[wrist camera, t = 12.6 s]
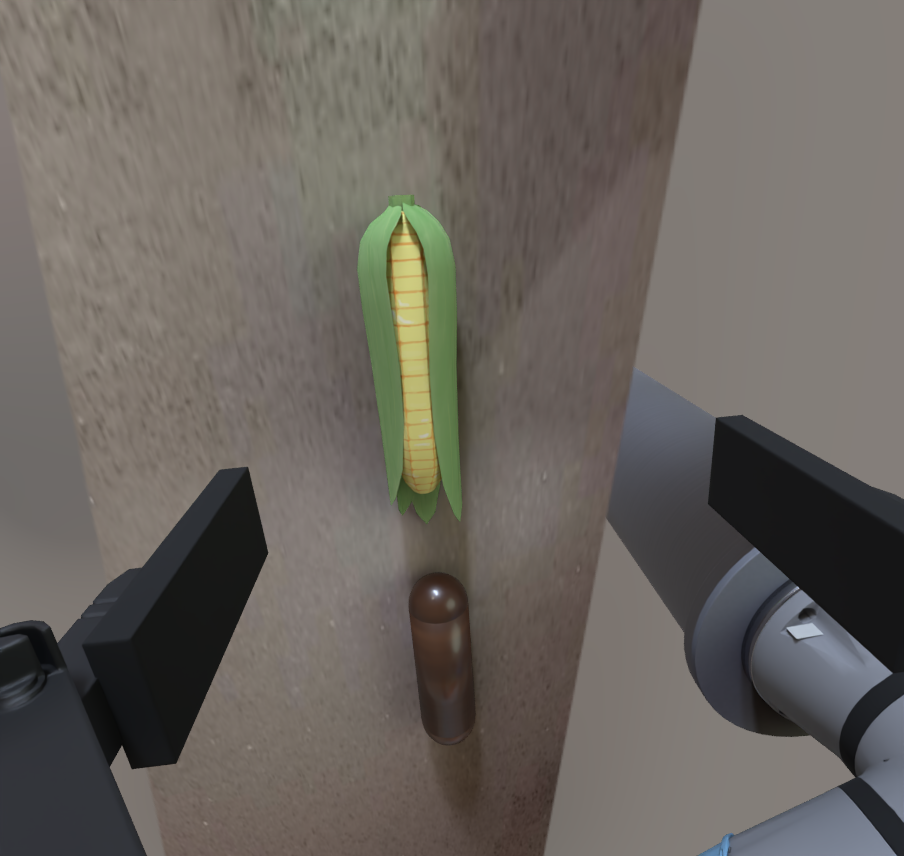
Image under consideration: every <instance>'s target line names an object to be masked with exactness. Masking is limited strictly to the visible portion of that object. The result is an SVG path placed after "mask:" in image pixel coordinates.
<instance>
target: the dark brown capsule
mask: <svg viewBox="0 0 904 856" xmlns="http://www.w3.org/2000/svg"><path fill="white" fill-rule="evenodd" d="M409 614H410V622H411V631H412V640H413V648H414V657H415V666H416V674H417V683H418V692H419V700H420V709H421V718H422V723H423V726H424V729H425V731H426V733H427V734H428V735H429V737H430V738H432V739H433V740H434V741H435V742H437V743H439V744H442V745H454V744H457V743H460V742H461V741H463V740H464V739H465V738H466V737H467V736H468V735H469V734H470V732H471V731H472V729H473V726H474V723H475V715H476V713H475V698H474V683H473V668H472V653H471V638H470V623H469V609H468V598H467V594H466V591H465V589H464V587H463V585H462V584H461V583H460V582H459V581H458V580H457V579H456V578H455V577H453V576H451V575H449V574H446V573H440V572H437V573H431V574H428V575H426V576H424V577H422V578H421V579H420V580H419V581H418V582H417V583H416V584H415V585H414V587H413V589H412V591H411V593H410V597H409Z"/></svg>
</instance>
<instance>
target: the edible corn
mask: <svg viewBox="0 0 904 856" xmlns="http://www.w3.org/2000/svg"><path fill="white" fill-rule="evenodd" d="M388 198H389V206H388V208H387V209H386V210H385V212H384V213H383V214H381V215H380V216H379V217H378V218H377V219H375V220H374V221H373V222H372V223H370V225H369V227H368V228H367V230H366V232H365V234H364V236H363V237H362V239H361V241H360V248H359V257H358V267H357V271H358V279H359V287H360V295H361V303H362V311H363V316H364V322H365V328H366V334H367V340H368V346H369V352H370V358H371V364H372V371H373V378H374V384H375V391H376V398H377V405H378V412H379V419H380V426H381V433H382V441H383V448H384V456H385V464H386V472H387V479H388V487H389V495H390V502H391V505H392V504H393V502H394V501H395V499H396V495H397V500H398V507H399V511H400V512H401V514H402V516H403V514H404V513H405V511H406V510H407V508H408V507H409V505H410V504H411V502H413V505H414V507H415V510H416V513H417V514H418V515H419V516H420V517H421V519H422V520H423V521H424V522H425V523H426V524H428V522H429V521H430V519H431V517H432V516H433V514H434V513H435V510H436V505H437V499H438V493H439V488H440V482H441V479H442V481H443V487H444V489H445V492H446V494H447V497H448V499H449V502H450V505H451V507H452V510H453V512H454V515H455V516H456V518H457V519H458V520H459V521H460V518H461V510H462V494H461V475H460V456H459V437H458V406H457V373H456V353H457V304H456V272H455V262H454V258H453V253H452V248H451V244H450V239H449V237H448V236H447V234H446V232H445V231H444V229H443V227H442V226H441V224H440V223H439V221H438V220H436V219H435V218H434V217H433V216H432V215H431V214H430V213H429V212H428V211H427V210H425V209H423V208H421V207H420V206H419V205H415V204H414V195H397V196H388Z"/></svg>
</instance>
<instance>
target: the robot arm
mask: <svg viewBox="0 0 904 856" xmlns="http://www.w3.org/2000/svg"><path fill="white" fill-rule="evenodd" d="M708 504H709V505H710V506H711V507H712V508H713V509H714V510H715V511H716V512H717V513H718V514H720V515H721V516H722V517H723V518H724V519H725V520H726V521H727V522H728V523H729V524H730V525H731V526H733V527H734V528H735V529H736V530H737V531H738V532H739V533H740V534H741V535H742V536H743V537H745V538H746V539H747V540H748V541H749V542H750V543H751V544H752V545H753V546H754V547H755V548H757V549H758V550H759V551H760V552H761V553H762V554H763V555H764V556H765V557H766V558H767V559H769V560H770V561H771V562H772V563H773V564H774V565H775V566H776V567H777V568H778V569H779V570H781V571H782V572H783V573H784V574H785V575H786V576H787V577H788V578H789V580H788V581H786V582H785V583H783V584H782V585H781V586H780V587H778V588H777V589H776V590H775V591H774V592H773V593H772V594H771V595H770V596H769V597H768V598H767V599H766V600H765V601H764V602H763V603H762V605H761V606H760V607H759V608H758V610H757V611H756V613H755V614H754V616H753V617H752V619H751V621H750V623H749V625H748V627H747V629H746V632H745V635H744V638H743V643H742V650H741V659H742V666H743V669H744V672H745V674H746V676H747V678H748V680H749V681H750V683H751V684H752V686H753V687H754V688H755V690H756V691H757V692H758V694H759V695H760V696H761V697H762V698H763V700H764V701H765V702H767V703H768V705H770V706H771V707H772V708H773V709H774V710H775V711H776V712H777V713H779V714H780V715H782V716H783V717H785V718H786V719H788V720H790V721H792V722H794V723H796V724H797V725H798V726H799V727H801V728H802V729H803V730H804V731H806V732H807V733H808V734H809V735H811V736H812V737H813V738H815V739H816V740H817V741H818V742H820V743H821V744H822V745H824V746H825V747H826V748H828V749H829V750H830V751H831V752H833V753H834V754H835V755H837V756H838V757H839V758H840V759H841V760H842V762H843V763H844V764H845V765H846V766H847V768H848V769H849V770H850V771H851V773H852V774H853V775H854V776H855V777H856V778H854V779H852V780H850V781H848V782H846V783H844V784H842V785H840V786H837V787H835V788H833V789H831V790H829V791H827V792H825V793H824V794H821V795H819V796H817V797H815V798H813V799H811V800H809V801H806V802H804V803H802V804H800V805H798V806H796V807H794V808H792V809H790V810H788V811H785V812H783V813H781V814H779V815H777V816H775V817H773V818H771V819H768V820H766V821H765V822H762V823H760V824H758V825H756V826H754V827H752V828H749V829H747V830H745V831H743V832H741V833H739V834H737V835H733V834H732V833H730V834H727V835H725V836H724V837H723V839H722V842H721V843H719V844H717V845H716V846H714V847H712V848H710V849H708V850H707V851H705V852H703V853H701V854H700V855H698V856H904V499H902V498H900V497H898V496H897V495H895V494H892V493H889V492H886V491H883V490H880V489H877V488H874V487H871V486H869V485H867V484H866V483H864V482H862V481H860V480H858V479H856V478H855V477H853V476H851V475H849V474H848V473H846V472H844V471H842V470H840V469H839V468H837V467H835V466H833V465H831V464H829V463H828V462H826V461H824V460H822V459H820V458H819V457H817V456H815V455H813V454H812V453H810V452H808V451H806V450H804V449H802V448H801V447H799V446H797V445H795V444H794V443H792V442H790V441H788V440H786V439H785V438H783V437H781V436H779V435H777V434H776V433H774V432H772V431H770V430H768V429H767V428H765V427H763V426H761V425H759V424H757V423H756V422H754V421H752V420H750V419H749V418H747V417H745V416H743V415H738V416H728V417H719V418H716V424H715V434H714V445H713V456H712V467H711V478H710V488H709V499H708ZM267 555H268V550H267V545H266V541H265V537H264V533H263V528H262V524H261V520H260V515H259V511H258V507H257V503H256V498H255V494H254V490H253V486H252V481H251V477H250V473H249V469H248V467H241V468H232V469H222V470H219V471H218V473H217V474H216V475H215V476H214V478H213V479H212V480H211V481H210V483H209V484H208V485H207V486H206V488H205V489H204V490H203V492H202V493H201V494H200V495H199V497H198V498H197V499H196V500H195V502H194V503H193V504H192V505H191V507H190V508H189V509H188V510H187V512H186V513H185V514H184V515H183V517H182V518H181V519H180V521H179V522H178V523H177V524H176V526H175V527H174V528H173V529H172V531H171V532H170V533H169V534H168V536H167V537H166V538H165V539H164V541H163V542H162V543H161V545H160V546H159V547H158V548H157V550H156V551H155V552H154V553H153V555H152V556H151V557H150V558H149V560H148V561H147V562H146V563H145V565H144V566H143V567H142V568H135V569H129V570H127V571H126V572H124V573H123V574H122V575H120V576H119V577H117V578H116V579H115V580H113V581H112V582H110V583H109V584H108V585H107V586H106V587H105V588H104V589H103V590H102V592H101V593H100V594H99V595H98V596H97V597H96V599H95V600H94V601H93V605H90V606H89V607H88V608H87V609H86V610H85V612H84V613H83V614H82V615H81V619H78V620H77V621H76V622H75V623H74V624H73V625H72V627H71V628H70V629H69V630H68V631H67V633H66V634H65V635H64V636H63V637H62V638H61V640H60V641H59V642H58V643H57V642H56V639H55V637H54V635H53V632H52V630H51V628H50V626H48V625H47V624H46V623H45V622H44V621H33V620H30V621H24V622H19V623H13V624H11V625H8V626H5V627H2V628H0V856H147V855H146V853H145V850H144V848H143V845H142V843H141V841H140V838H139V836H138V834H137V831H136V829H135V826H134V824H133V822H132V819H131V817H130V815H129V812H128V810H127V807H126V805H125V803H124V800H123V798H122V795H121V793H120V791H119V788H118V786H117V783H116V781H115V779H114V776H113V774H112V772H111V769H110V766H111V764H112V762H113V760H114V758H115V757H116V755H117V753H118V751H119V749H120V748H121V746H123V748H124V751H125V753H126V756H127V758H128V761H129V763H130V766H131V768H132V769H136V768H145V767H153V766H161V765H169V764H176V763H177V760H178V758H179V756H180V754H181V751H182V749H183V747H184V744H185V742H186V740H187V738H188V735H189V733H190V731H191V728H192V726H193V724H194V722H195V719H196V717H197V715H198V712H199V710H200V708H201V706H202V703H203V701H204V699H205V696H206V694H207V692H208V690H209V687H210V685H211V683H212V680H213V678H214V676H215V674H216V671H217V669H218V667H219V664H220V662H221V660H222V658H223V655H224V653H225V651H226V648H227V646H228V644H229V642H230V639H231V637H232V635H233V632H234V630H235V628H236V626H237V623H238V621H239V619H240V616H241V614H242V612H243V610H244V607H245V605H246V603H247V600H248V598H249V596H250V594H251V591H252V589H253V587H254V584H255V582H256V580H257V578H258V575H259V573H260V571H261V568H262V566H263V564H264V562H265V559H266V557H267Z"/></svg>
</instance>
